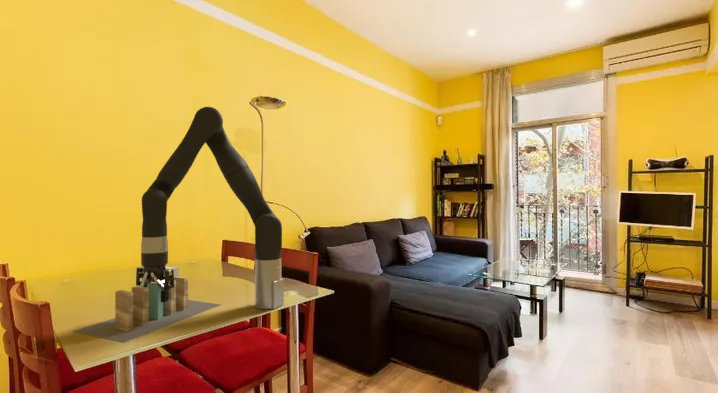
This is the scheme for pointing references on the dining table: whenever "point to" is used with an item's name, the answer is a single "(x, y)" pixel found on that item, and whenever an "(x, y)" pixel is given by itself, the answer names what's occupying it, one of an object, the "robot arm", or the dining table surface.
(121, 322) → the domino
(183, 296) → the domino
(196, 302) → the mat
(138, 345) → the dining table surface
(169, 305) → the domino
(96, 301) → the dining table surface
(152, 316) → the domino
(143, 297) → the domino
